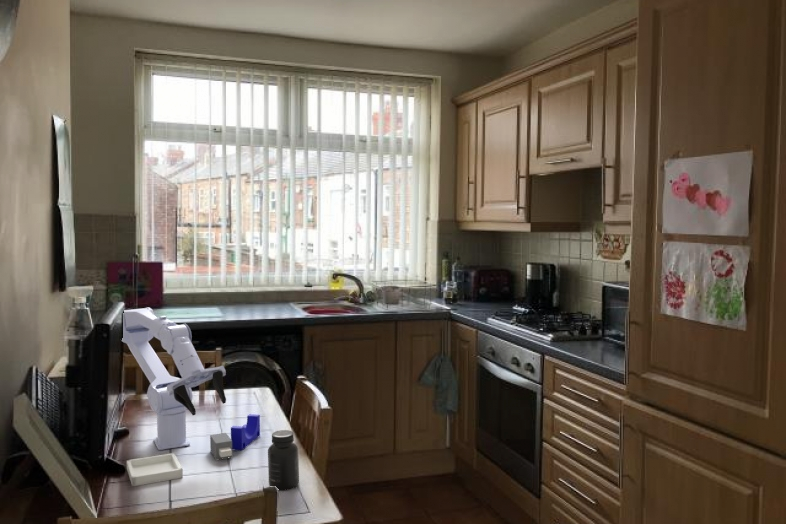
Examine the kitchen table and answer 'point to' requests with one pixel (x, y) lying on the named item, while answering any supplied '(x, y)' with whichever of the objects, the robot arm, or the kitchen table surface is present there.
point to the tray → (154, 469)
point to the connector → (221, 446)
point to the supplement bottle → (283, 461)
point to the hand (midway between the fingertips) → (209, 407)
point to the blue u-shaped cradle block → (245, 432)
